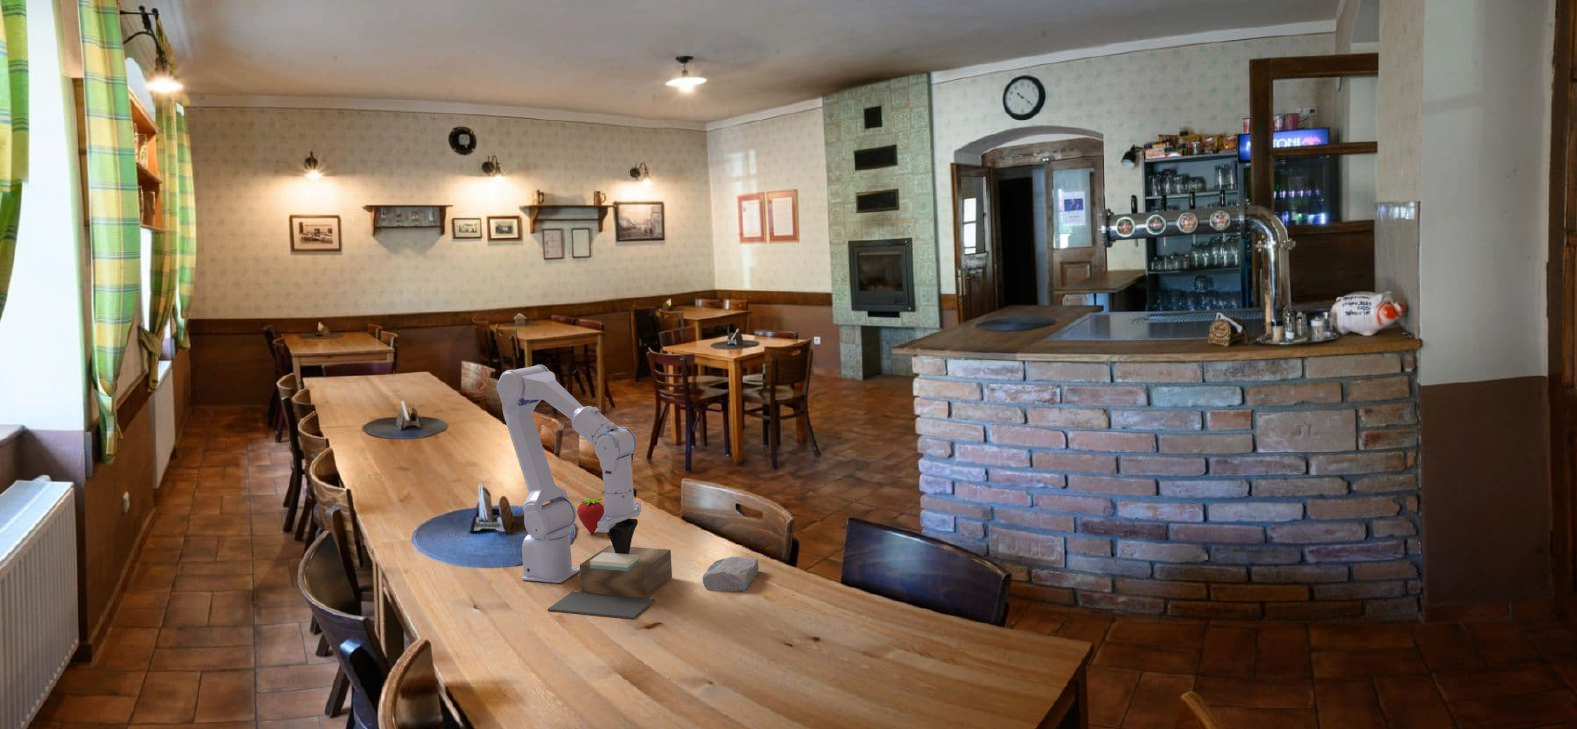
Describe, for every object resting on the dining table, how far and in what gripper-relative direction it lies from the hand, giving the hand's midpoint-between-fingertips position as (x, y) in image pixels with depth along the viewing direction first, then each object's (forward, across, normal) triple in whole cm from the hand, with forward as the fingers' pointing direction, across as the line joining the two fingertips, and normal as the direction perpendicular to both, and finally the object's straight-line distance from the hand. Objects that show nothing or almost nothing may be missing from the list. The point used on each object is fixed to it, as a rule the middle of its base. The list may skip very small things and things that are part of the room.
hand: (622, 556), depth 182 cm
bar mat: (+6, -9, 0) cm, 11 cm away
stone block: (+7, +8, -19) cm, 22 cm away
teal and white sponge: (0, -3, 0) cm, 3 cm away
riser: (+6, +1, 0) cm, 7 cm away
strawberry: (+7, +32, +25) cm, 41 cm away
